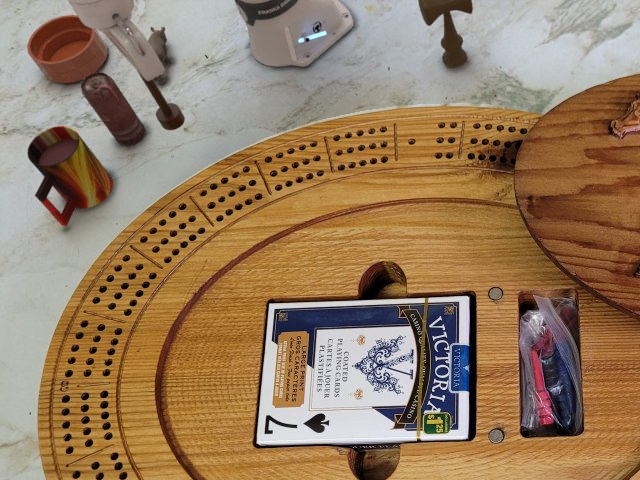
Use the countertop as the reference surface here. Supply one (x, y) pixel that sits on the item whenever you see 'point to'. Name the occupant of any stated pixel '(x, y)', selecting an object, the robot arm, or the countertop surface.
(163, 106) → the disc-capped wooden dowel
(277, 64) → the robot arm
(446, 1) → the kendama
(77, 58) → the bowl
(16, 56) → the countertop surface
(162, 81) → the rhino figurine
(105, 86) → the can
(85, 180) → the mug
